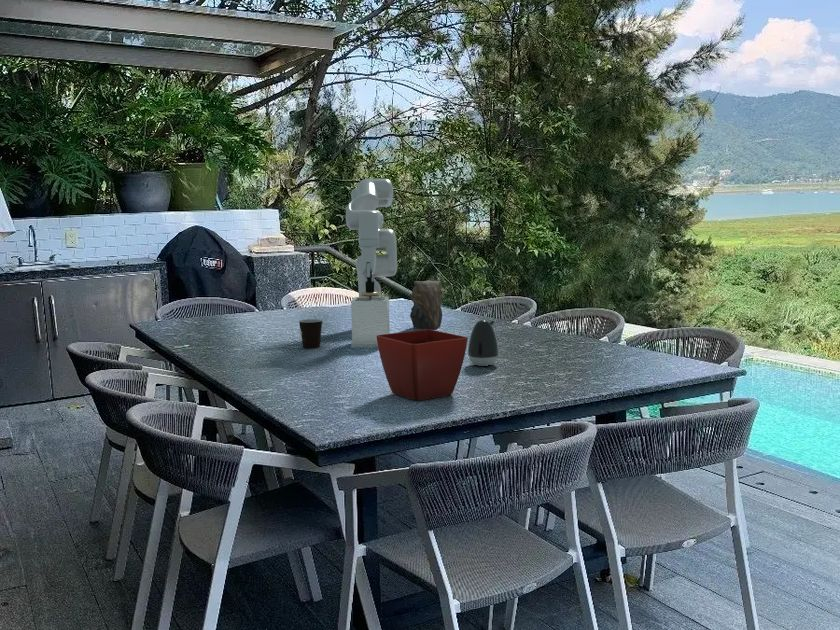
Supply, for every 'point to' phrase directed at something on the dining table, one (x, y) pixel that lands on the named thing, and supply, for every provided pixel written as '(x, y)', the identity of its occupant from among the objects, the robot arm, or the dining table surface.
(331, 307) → the dining table surface
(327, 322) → the dining table surface
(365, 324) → the white open square box
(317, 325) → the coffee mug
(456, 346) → the plant pot
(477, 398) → the dining table surface
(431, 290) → the owl
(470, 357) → the dark grey tapered dome
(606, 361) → the dining table surface
